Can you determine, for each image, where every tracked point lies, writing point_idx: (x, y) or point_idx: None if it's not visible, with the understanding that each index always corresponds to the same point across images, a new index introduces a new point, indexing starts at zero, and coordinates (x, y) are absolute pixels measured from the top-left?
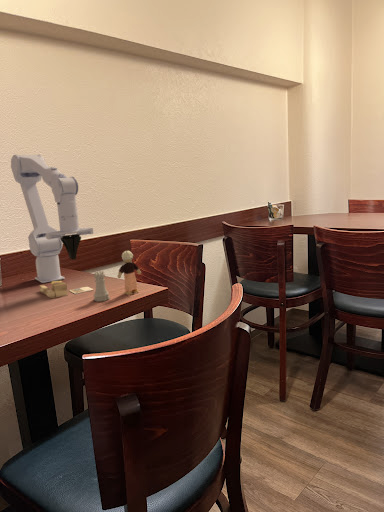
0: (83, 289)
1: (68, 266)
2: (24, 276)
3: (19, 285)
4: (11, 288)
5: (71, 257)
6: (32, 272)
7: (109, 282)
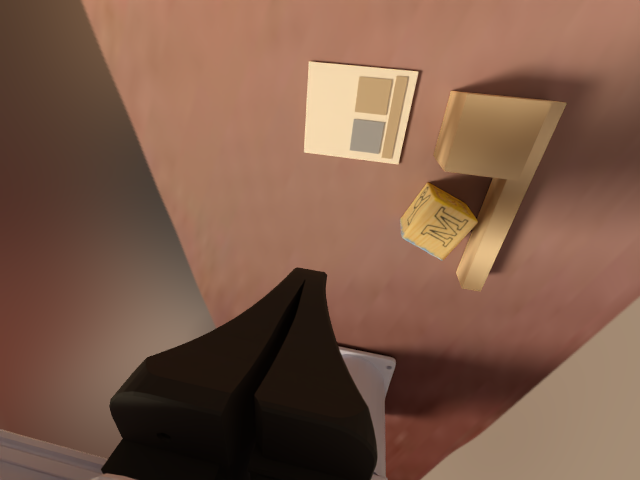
0: (345, 112)
1: None
2: None
3: (456, 397)
4: (499, 390)
5: (325, 284)
6: None
7: (195, 141)
